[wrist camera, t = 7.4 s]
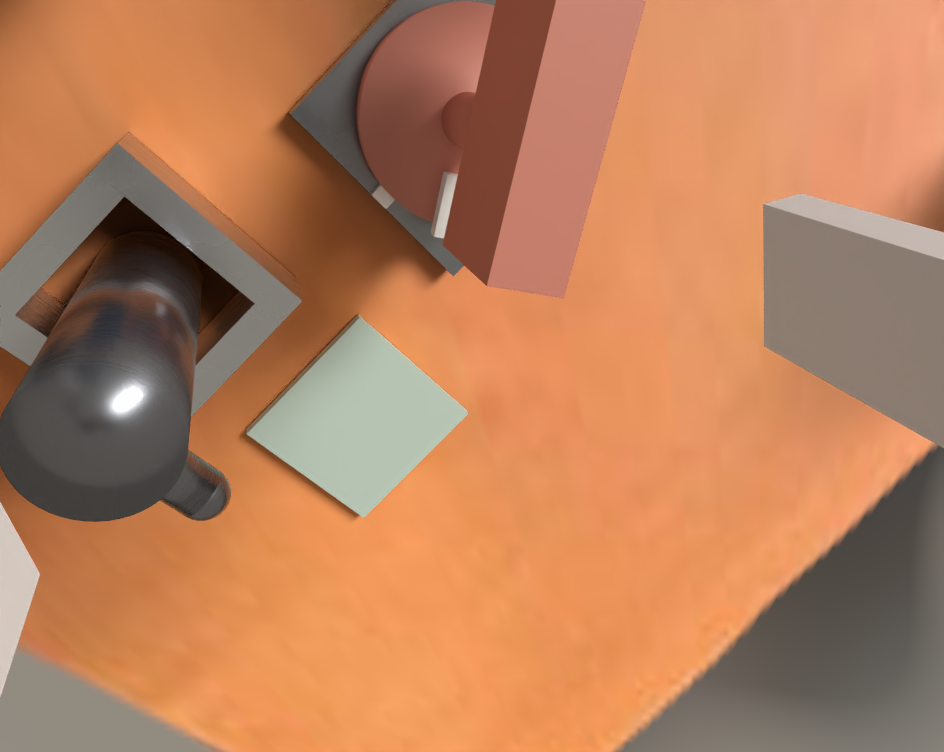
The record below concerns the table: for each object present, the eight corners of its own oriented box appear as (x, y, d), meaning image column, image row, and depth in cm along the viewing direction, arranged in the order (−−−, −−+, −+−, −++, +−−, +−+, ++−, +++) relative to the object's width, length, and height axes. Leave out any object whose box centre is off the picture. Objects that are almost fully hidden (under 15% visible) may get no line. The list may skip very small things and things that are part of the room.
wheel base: (288, 112, 29) (290, 114, 28) (455, -67, 29) (465, -72, 27) (447, 270, 33) (454, 278, 32) (596, 117, 33) (610, 120, 32)
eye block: (-15, 288, 29) (-43, 318, 26) (129, 132, 28) (117, 143, 25) (164, 411, 32) (158, 450, 29) (294, 276, 32) (302, 301, 29)
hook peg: (68, 284, 29) (-45, 459, 17) (139, 208, 29) (75, 330, 17) (191, 375, 32) (171, 583, 20) (257, 306, 32) (278, 473, 19)
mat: (246, 429, 34) (246, 434, 33) (358, 313, 33) (359, 317, 33) (362, 512, 37) (363, 518, 36) (465, 409, 36) (468, 413, 36)
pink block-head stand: (378, -25, 27) (455, -60, 18) (580, 34, 30) (734, 30, 21) (337, 212, 30) (387, 285, 21) (526, 246, 33) (642, 324, 24)
